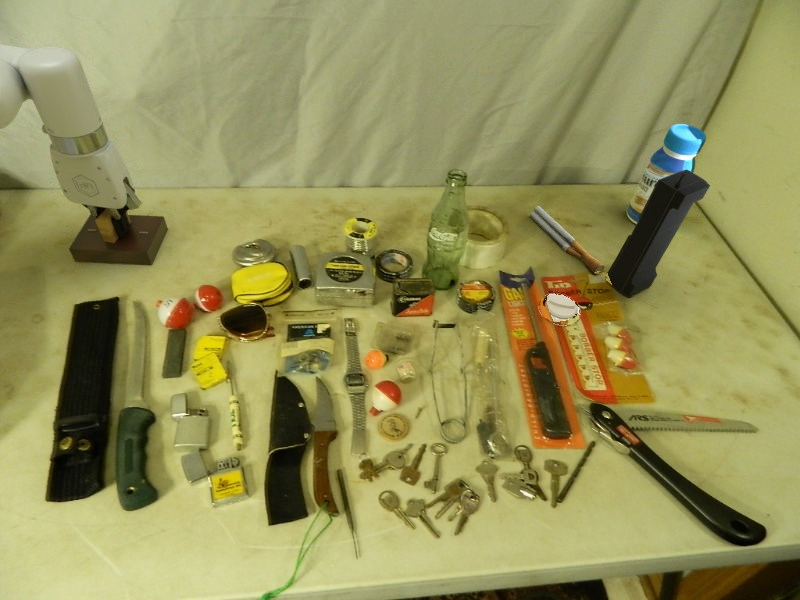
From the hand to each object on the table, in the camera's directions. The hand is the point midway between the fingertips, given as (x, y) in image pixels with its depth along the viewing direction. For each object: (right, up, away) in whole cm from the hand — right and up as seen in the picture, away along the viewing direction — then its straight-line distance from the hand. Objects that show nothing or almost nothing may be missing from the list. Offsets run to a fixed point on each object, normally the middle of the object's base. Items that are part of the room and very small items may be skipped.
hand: (117, 230), depth 93 cm
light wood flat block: (0, 0, 0) cm, 0 cm away
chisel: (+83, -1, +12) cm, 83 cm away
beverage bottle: (+102, +5, +20) cm, 104 cm away
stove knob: (+78, -14, -1) cm, 79 cm away
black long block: (+93, -9, +6) cm, 93 cm away
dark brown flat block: (0, -2, +2) cm, 3 cm away
